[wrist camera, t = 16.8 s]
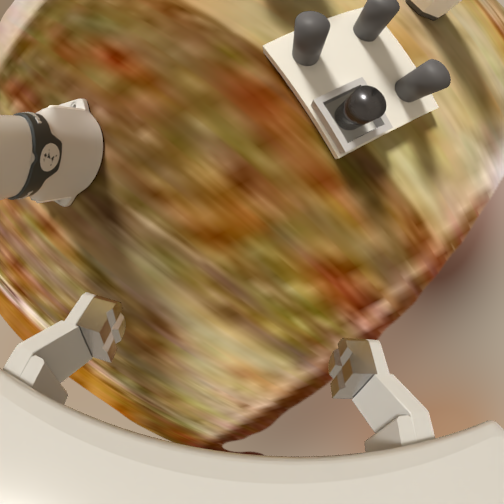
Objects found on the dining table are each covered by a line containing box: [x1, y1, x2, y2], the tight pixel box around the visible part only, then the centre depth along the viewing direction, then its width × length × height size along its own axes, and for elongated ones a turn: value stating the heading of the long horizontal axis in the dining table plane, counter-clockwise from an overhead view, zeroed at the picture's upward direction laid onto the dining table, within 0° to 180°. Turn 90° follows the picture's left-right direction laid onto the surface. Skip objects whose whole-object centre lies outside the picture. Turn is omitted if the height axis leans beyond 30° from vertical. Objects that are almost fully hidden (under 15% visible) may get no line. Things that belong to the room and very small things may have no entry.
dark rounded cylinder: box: [335, 85, 386, 130], centre depth 26 cm, size 4×4×9 cm
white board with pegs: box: [263, 0, 451, 159], centre depth 24 cm, size 18×18×12 cm
